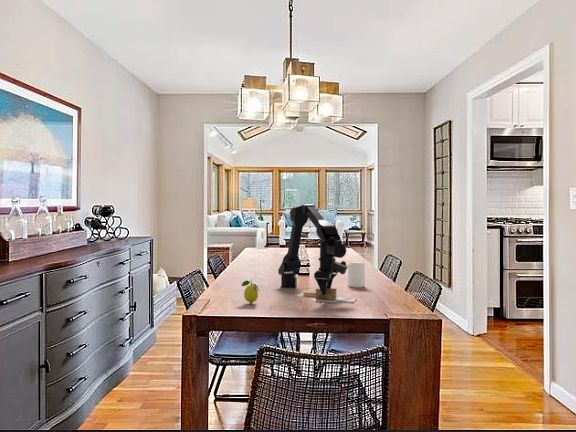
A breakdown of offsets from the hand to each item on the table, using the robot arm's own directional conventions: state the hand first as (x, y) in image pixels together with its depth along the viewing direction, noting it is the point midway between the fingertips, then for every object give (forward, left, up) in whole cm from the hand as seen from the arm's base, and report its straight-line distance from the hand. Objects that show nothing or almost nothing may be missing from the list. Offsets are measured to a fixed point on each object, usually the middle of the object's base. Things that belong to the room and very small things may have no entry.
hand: (326, 292), depth 214 cm
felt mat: (-7, +9, -3) cm, 12 cm away
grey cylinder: (+6, +39, -3) cm, 40 cm away
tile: (-7, +12, -2) cm, 14 cm away
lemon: (-27, -17, -3) cm, 32 cm away
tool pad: (+3, 0, -3) cm, 4 cm away
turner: (+4, 0, -3) cm, 5 cm away
